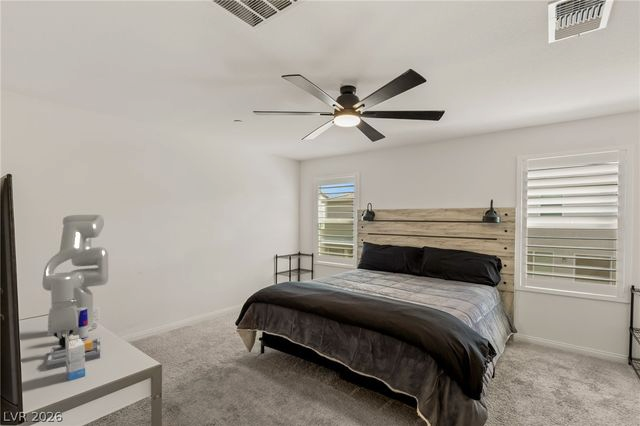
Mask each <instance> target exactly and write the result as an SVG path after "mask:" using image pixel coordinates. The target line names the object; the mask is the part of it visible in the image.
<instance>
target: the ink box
mask: <svg viewBox="0 0 640 426" xmlns="http://www.w3.org/2000/svg"><path fill="white" fill-rule="evenodd" d="M64 336H65V344H66V366H65V367H66V368H65V373H66V377H67V378H68V380H69V381H73V380H76V379H79V378H82V377H84V376H86V361H85V346H84V343H83V342H84V340H83V341H82V340H81V339H77V340H73V341H70V339H69V337H67V336H66V334H65V335H64Z"/></svg>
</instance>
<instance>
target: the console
mask: <svg viewBox="0 0 640 426" xmlns="http://www.w3.org/2000/svg"><path fill="white" fill-rule="evenodd" d="M83 343H84V341H83ZM100 358H101V338H100V337H96V338H94V339H93V338H92V350H90V351H88V352H86V351H85V362H90V361H94V360H98V359H100ZM64 367H66V347H63V348H61V346H59V345H58V346H52V347H51V350H50V355H48V357H47V362H46V368H45V369H46V371H51V370H55V369H59V368H64Z"/></svg>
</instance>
